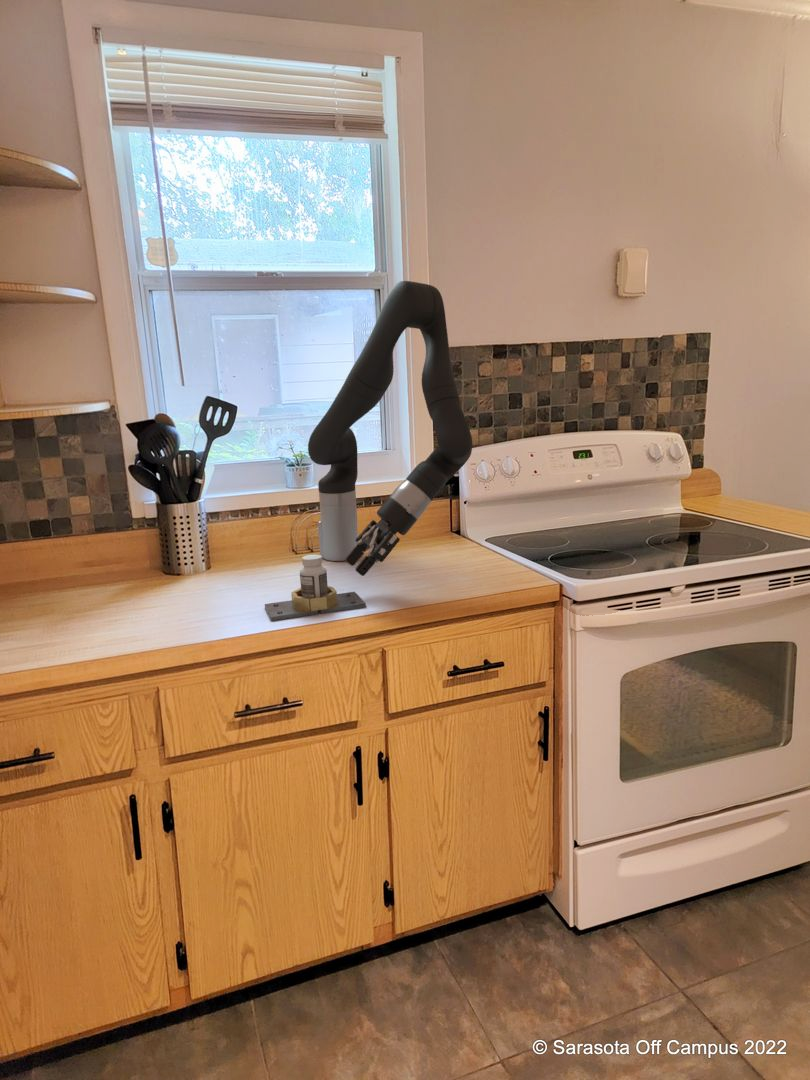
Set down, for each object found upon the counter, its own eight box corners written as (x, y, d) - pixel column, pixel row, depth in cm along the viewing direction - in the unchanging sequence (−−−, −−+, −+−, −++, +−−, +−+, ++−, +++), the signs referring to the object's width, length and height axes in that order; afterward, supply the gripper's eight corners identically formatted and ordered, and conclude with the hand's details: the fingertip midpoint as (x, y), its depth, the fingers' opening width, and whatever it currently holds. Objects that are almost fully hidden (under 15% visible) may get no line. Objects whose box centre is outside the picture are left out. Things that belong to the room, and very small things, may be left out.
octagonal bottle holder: (271, 621, 140) (269, 604, 139) (264, 607, 148) (263, 592, 147) (365, 607, 146) (365, 591, 145) (354, 595, 154) (353, 580, 153)
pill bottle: (323, 597, 150) (320, 552, 148) (332, 604, 146) (329, 557, 143) (298, 602, 148) (294, 556, 146) (307, 609, 143) (303, 561, 141)
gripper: (381, 490, 154) (332, 549, 153) (402, 501, 140) (348, 565, 140) (406, 512, 156) (358, 570, 156) (428, 524, 143) (376, 588, 142)
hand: (353, 568), depth 148 cm, fingers open, 8 cm apart
